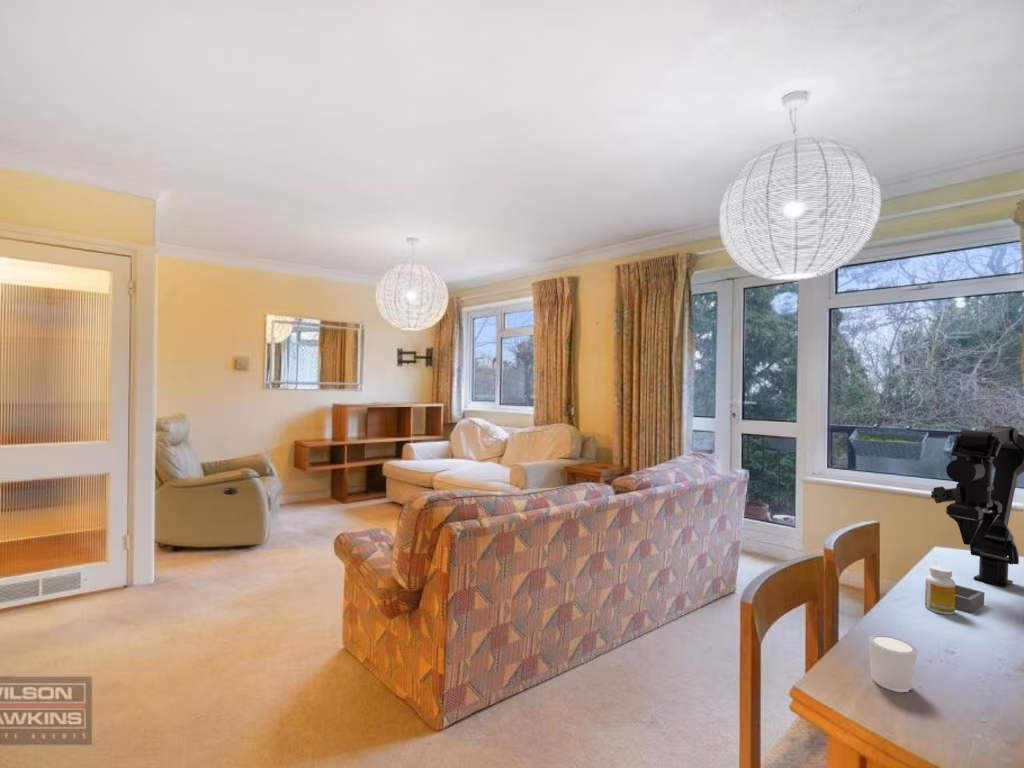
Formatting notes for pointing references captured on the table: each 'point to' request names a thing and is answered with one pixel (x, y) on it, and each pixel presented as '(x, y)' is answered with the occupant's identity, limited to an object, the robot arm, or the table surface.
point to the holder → (968, 598)
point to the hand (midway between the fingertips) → (973, 541)
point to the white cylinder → (892, 661)
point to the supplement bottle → (940, 591)
